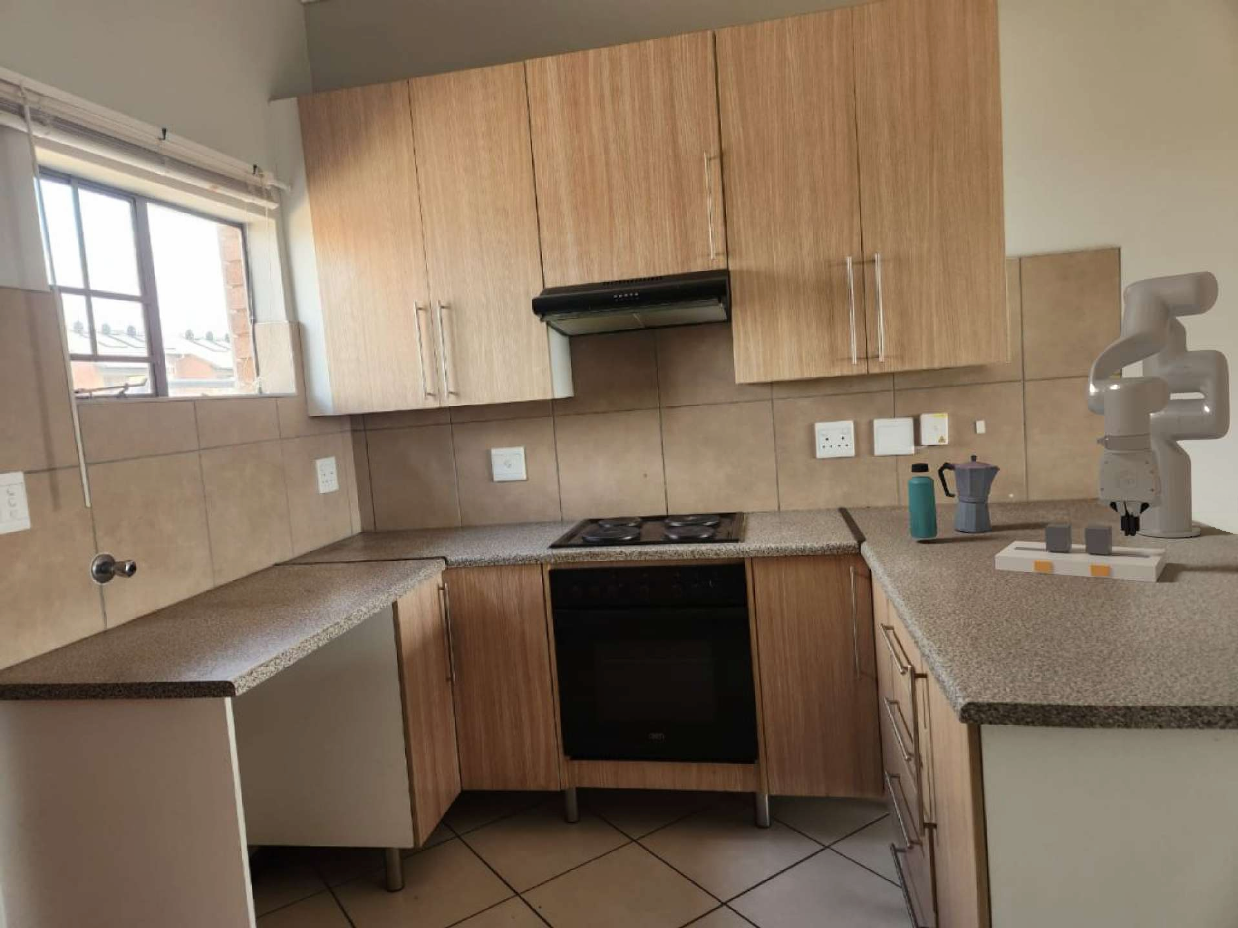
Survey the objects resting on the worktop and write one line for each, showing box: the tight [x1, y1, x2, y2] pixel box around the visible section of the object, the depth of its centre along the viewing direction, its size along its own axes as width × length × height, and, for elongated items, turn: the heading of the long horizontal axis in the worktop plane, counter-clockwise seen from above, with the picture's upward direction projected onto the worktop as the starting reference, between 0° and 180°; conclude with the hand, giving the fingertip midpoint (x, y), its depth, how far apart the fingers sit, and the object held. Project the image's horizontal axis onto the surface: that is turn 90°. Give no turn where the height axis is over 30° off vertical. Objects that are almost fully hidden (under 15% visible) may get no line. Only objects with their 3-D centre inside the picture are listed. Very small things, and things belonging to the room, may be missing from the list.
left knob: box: [1044, 523, 1073, 552], centre depth 163 cm, size 4×4×5 cm
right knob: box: [1084, 524, 1113, 554], centre depth 158 cm, size 4×4×5 cm
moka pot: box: [937, 454, 1002, 534], centre depth 205 cm, size 10×15×20 cm, turn 58°
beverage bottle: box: [907, 462, 939, 539], centre depth 195 cm, size 6×7×20 cm
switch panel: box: [994, 540, 1167, 583], centre depth 161 cm, size 16×28×3 cm, turn 49°
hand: (1130, 534), depth 155 cm, fingers closed
